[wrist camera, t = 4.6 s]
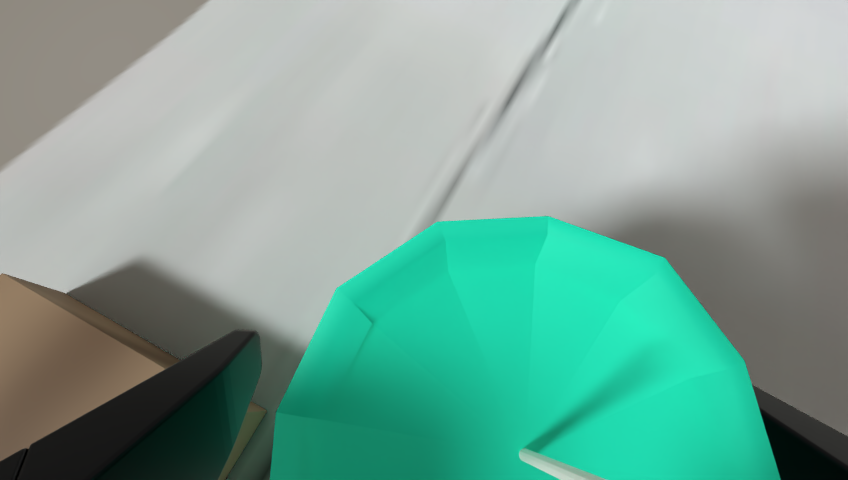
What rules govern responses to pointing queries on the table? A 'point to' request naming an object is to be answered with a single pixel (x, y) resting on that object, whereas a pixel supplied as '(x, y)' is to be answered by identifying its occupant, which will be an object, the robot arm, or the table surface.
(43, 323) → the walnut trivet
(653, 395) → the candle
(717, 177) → the table surface
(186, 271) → the table surface
